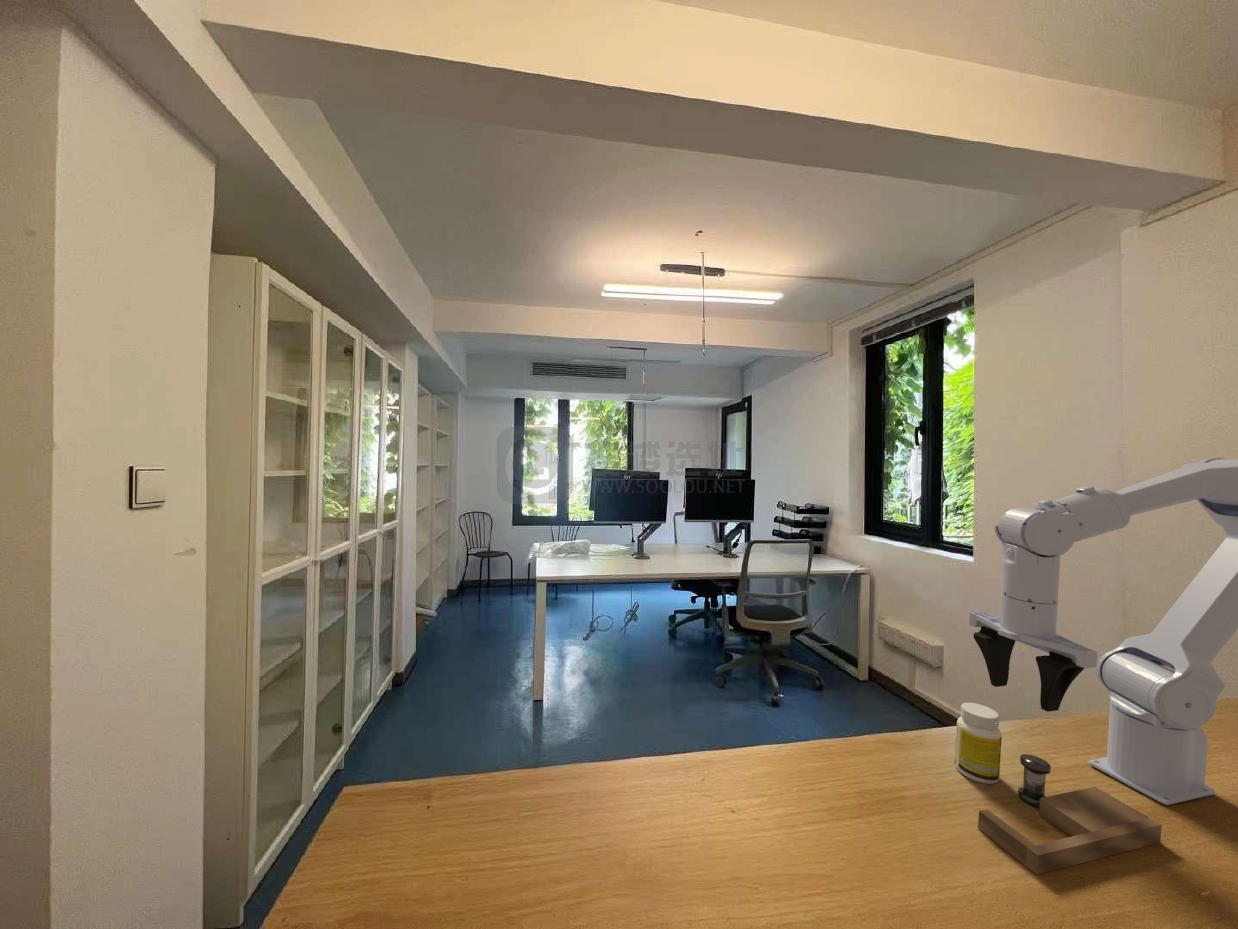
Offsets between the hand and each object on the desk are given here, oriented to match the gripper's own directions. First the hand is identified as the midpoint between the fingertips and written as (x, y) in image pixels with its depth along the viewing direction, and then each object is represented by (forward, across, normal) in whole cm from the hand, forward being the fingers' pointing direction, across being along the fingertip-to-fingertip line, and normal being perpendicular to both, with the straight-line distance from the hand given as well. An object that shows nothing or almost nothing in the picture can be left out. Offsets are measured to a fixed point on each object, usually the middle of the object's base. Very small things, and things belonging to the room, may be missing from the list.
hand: (1023, 696), depth 65 cm
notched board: (+9, +11, -8) cm, 16 cm away
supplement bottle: (+10, 0, -8) cm, 12 cm away
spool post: (+9, +6, -6) cm, 12 cm away
